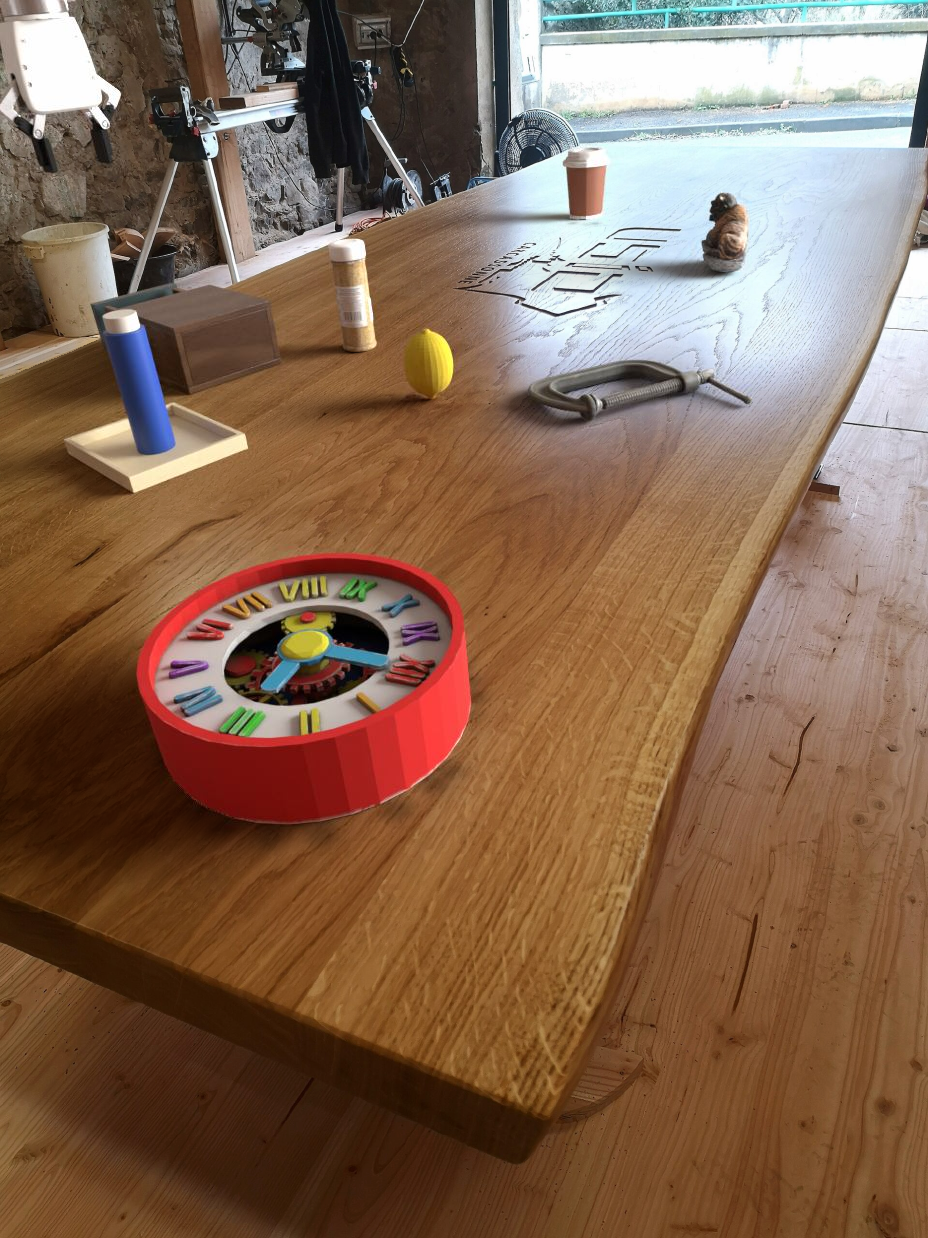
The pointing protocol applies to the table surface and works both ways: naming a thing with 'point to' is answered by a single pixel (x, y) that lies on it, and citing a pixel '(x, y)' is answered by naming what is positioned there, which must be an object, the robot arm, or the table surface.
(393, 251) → the table surface
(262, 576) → the toy clock
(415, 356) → the lemon
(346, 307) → the sprinkles bottle
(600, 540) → the table surface
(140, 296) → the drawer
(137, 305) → the cabinet
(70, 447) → the tray
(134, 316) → the water bottle
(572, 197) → the coffee cup
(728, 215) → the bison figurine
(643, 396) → the c clamp
